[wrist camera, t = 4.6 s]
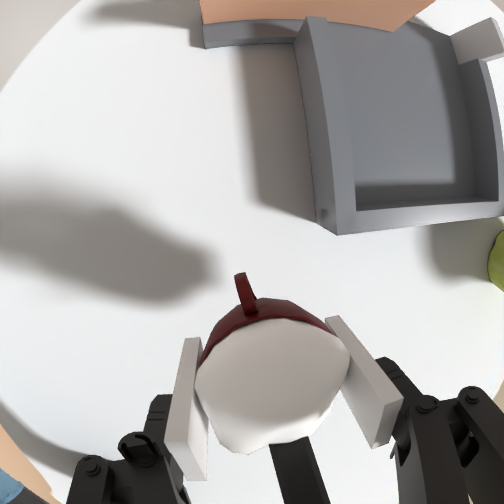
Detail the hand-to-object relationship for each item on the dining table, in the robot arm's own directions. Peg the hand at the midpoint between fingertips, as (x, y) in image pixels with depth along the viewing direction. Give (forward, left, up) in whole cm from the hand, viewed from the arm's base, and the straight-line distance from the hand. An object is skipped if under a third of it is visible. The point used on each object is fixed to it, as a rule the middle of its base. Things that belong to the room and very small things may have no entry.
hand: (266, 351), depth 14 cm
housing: (+10, +13, -6) cm, 17 cm away
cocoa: (0, 0, -1) cm, 1 cm away
